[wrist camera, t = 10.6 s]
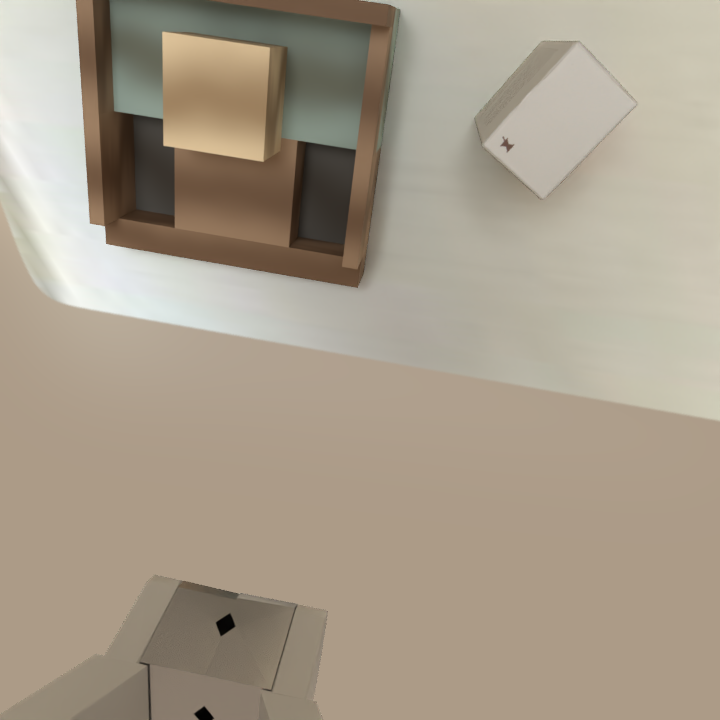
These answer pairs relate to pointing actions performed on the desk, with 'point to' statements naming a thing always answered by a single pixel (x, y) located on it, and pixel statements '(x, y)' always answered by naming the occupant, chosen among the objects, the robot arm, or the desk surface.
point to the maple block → (223, 95)
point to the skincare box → (552, 114)
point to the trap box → (231, 174)
